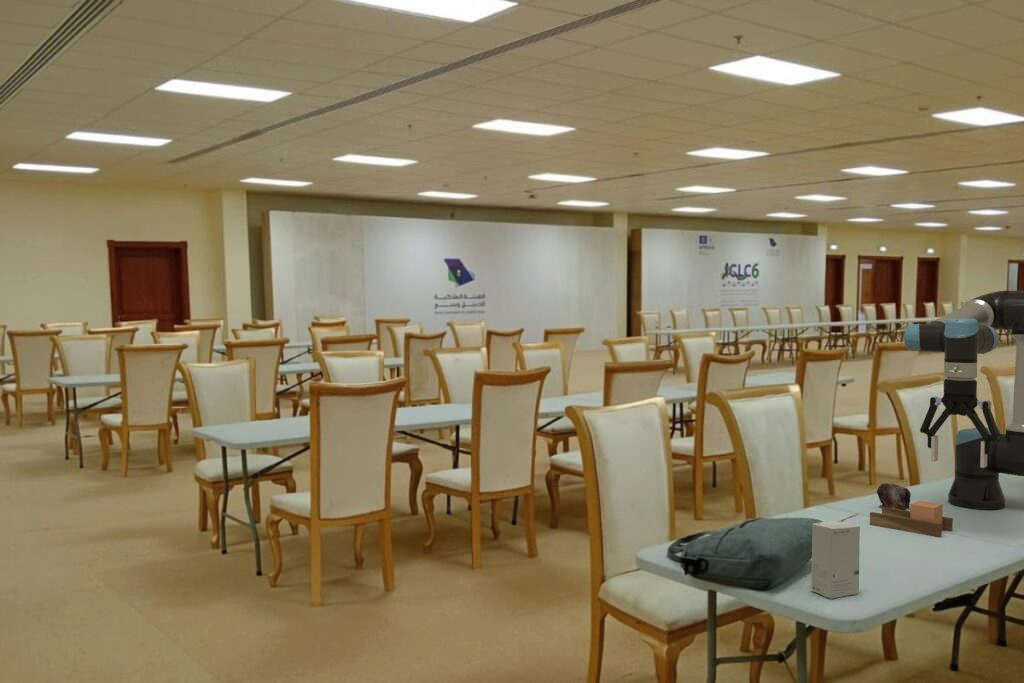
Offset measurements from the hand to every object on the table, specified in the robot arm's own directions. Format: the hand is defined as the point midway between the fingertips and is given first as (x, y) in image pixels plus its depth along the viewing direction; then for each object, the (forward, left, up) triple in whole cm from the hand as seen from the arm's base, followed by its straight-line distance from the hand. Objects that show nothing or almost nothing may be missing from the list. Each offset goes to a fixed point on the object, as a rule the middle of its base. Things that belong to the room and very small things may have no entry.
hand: (958, 463), depth 221 cm
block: (0, -8, -19) cm, 20 cm away
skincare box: (+60, -5, -20) cm, 63 cm away
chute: (0, -16, -20) cm, 25 cm away
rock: (-19, -24, -20) cm, 36 cm away
